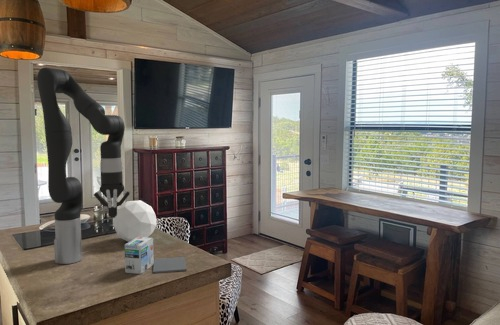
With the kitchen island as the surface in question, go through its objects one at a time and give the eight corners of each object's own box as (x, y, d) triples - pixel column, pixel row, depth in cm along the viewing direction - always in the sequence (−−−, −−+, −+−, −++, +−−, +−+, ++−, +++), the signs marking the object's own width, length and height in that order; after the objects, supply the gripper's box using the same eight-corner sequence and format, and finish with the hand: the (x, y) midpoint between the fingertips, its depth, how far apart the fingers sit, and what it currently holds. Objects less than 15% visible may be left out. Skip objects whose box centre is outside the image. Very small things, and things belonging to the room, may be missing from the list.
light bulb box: (141, 274, 141) (140, 245, 140) (124, 273, 143) (123, 244, 142) (154, 264, 152) (153, 237, 151) (138, 263, 153) (137, 236, 152)
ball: (132, 258, 178) (109, 231, 166) (122, 233, 193) (101, 206, 181) (168, 235, 182) (149, 207, 170) (156, 213, 197) (137, 185, 185)
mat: (153, 273, 143) (153, 271, 143) (154, 260, 156) (154, 258, 156) (186, 270, 145) (186, 269, 145) (184, 258, 159) (184, 256, 159)
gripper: (90, 172, 137) (92, 220, 138) (129, 171, 140) (131, 218, 141) (93, 169, 144) (95, 215, 146) (131, 168, 147) (132, 214, 149)
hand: (113, 217), depth 144 cm, fingers closed
